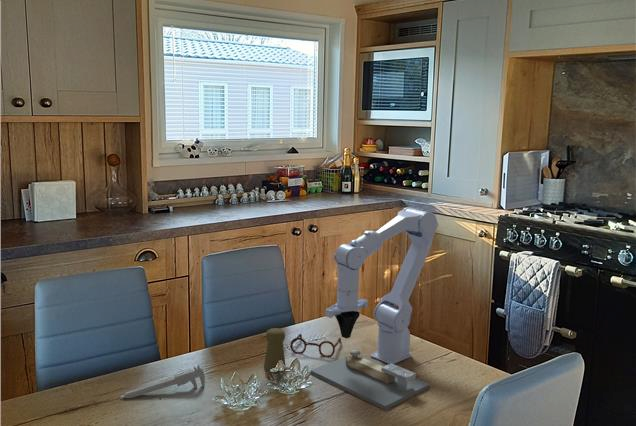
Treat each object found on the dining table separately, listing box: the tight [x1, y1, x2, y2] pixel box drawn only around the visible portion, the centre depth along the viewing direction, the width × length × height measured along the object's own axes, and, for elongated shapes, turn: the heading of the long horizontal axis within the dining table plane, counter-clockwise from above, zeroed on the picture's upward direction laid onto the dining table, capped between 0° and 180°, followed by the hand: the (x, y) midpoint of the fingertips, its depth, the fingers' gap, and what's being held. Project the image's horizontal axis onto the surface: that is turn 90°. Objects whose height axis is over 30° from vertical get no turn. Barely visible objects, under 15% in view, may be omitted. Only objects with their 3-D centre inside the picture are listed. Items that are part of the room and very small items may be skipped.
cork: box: [263, 327, 286, 373], centre depth 166 cm, size 6×6×11 cm
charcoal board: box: [310, 354, 431, 411], centre depth 161 cm, size 18×26×1 cm
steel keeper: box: [381, 363, 417, 393], centre depth 156 cm, size 8×4×4 cm, turn 44°
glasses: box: [290, 333, 342, 358], centre depth 182 cm, size 13×13×5 cm
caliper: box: [119, 364, 206, 400], centre depth 150 cm, size 20×1×6 cm, turn 112°
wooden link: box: [345, 349, 395, 384], centre depth 163 cm, size 15×4×4 cm, turn 44°
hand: (345, 337), depth 166 cm, fingers closed
